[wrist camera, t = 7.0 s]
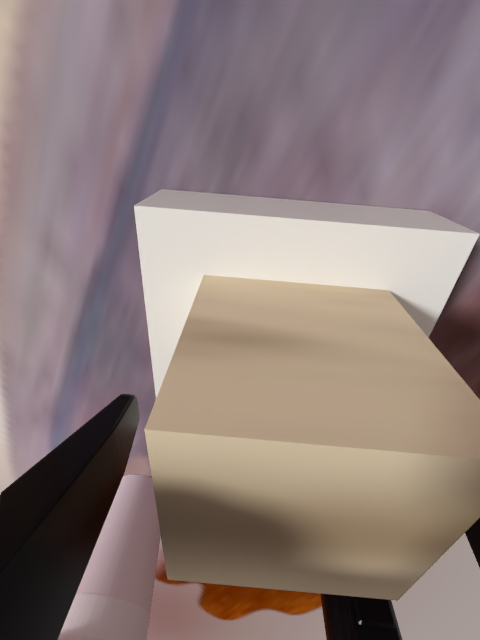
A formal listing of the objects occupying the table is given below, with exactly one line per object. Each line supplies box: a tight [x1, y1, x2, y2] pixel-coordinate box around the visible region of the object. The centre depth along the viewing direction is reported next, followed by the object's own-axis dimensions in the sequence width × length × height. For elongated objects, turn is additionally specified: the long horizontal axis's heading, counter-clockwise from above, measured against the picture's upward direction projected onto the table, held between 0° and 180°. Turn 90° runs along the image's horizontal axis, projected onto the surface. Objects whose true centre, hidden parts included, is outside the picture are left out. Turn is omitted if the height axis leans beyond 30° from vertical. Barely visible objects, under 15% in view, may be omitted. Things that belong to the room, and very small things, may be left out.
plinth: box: [134, 189, 479, 398], centre depth 13 cm, size 10×10×3 cm
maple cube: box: [145, 275, 480, 600], centre depth 9 cm, size 6×6×6 cm
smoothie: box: [58, 474, 161, 640], centre depth 16 cm, size 6×6×14 cm
